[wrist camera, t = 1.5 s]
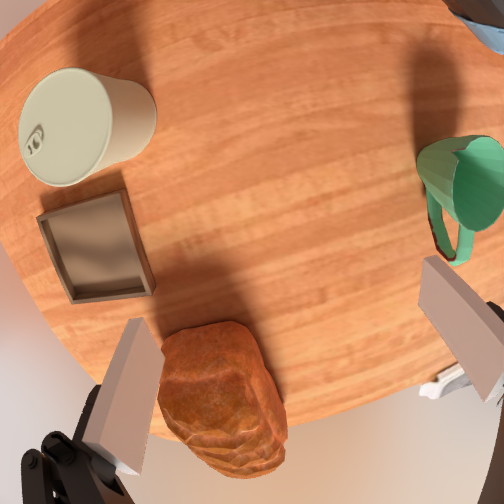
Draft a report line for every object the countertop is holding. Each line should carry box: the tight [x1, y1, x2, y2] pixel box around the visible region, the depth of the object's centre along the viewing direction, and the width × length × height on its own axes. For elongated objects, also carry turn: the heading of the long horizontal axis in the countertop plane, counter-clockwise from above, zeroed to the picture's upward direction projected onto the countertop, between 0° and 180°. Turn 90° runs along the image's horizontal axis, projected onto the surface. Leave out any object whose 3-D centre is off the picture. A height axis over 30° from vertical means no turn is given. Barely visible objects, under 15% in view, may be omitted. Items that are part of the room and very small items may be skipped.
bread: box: [157, 321, 288, 479], centre depth 37 cm, size 14×26×16 cm, turn 16°
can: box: [18, 67, 157, 187], centre depth 21 cm, size 9×9×12 cm
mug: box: [416, 135, 504, 266], centre depth 26 cm, size 15×10×10 cm
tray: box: [36, 188, 156, 304], centre depth 32 cm, size 13×13×2 cm
